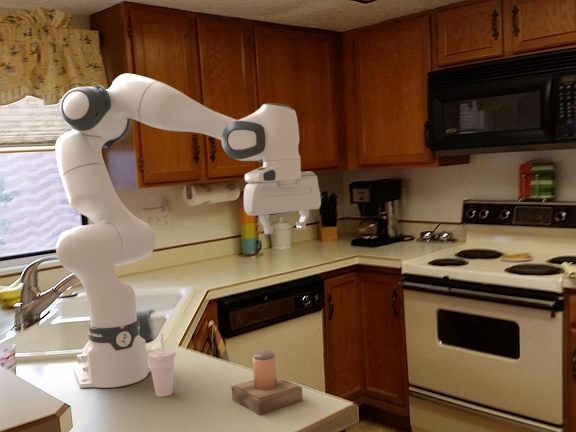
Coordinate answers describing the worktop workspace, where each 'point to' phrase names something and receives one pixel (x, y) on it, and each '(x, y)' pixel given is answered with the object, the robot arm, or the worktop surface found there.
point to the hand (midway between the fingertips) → (285, 231)
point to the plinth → (266, 396)
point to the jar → (264, 370)
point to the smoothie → (162, 369)
